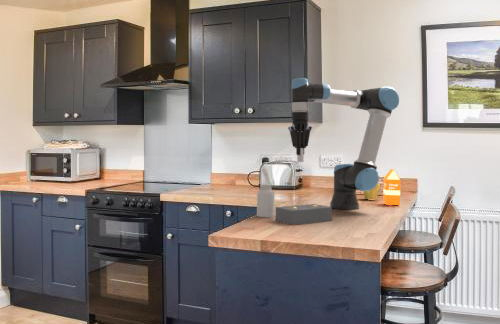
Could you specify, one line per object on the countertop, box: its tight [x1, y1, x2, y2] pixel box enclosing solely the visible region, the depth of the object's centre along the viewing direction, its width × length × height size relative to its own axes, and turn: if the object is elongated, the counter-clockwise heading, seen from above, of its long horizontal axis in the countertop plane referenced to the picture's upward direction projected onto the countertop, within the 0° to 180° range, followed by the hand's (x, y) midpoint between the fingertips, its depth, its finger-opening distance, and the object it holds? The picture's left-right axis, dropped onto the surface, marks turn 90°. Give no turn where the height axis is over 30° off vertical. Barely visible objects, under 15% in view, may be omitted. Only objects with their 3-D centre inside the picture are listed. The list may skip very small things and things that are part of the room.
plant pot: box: [363, 183, 381, 200], centre depth 292 cm, size 10×10×10 cm
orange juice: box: [382, 168, 402, 206], centre depth 271 cm, size 8×9×20 cm
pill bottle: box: [256, 183, 275, 219], centre depth 224 cm, size 8×8×15 cm
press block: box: [274, 203, 333, 226], centre depth 214 cm, size 22×12×6 cm, turn 123°
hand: (300, 161), depth 229 cm, fingers closed
